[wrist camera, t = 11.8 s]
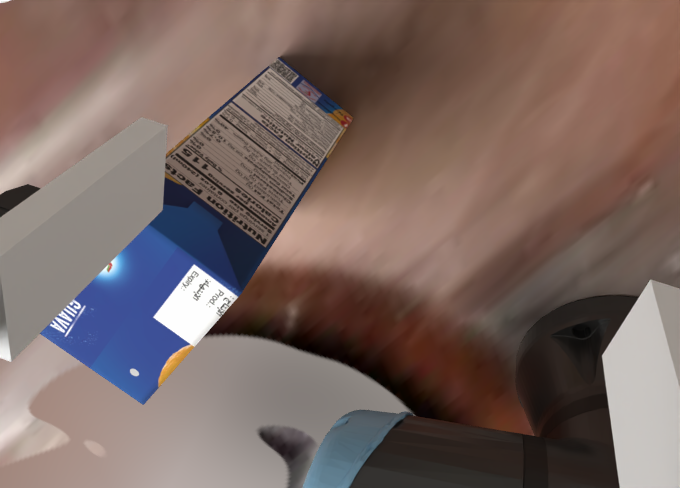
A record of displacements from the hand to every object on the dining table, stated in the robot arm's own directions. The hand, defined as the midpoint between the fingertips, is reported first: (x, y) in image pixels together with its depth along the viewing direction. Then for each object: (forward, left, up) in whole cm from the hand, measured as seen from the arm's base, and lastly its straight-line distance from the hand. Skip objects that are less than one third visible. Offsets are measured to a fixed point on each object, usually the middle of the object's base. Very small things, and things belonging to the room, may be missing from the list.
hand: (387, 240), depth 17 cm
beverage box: (-13, +11, -29) cm, 34 cm away
